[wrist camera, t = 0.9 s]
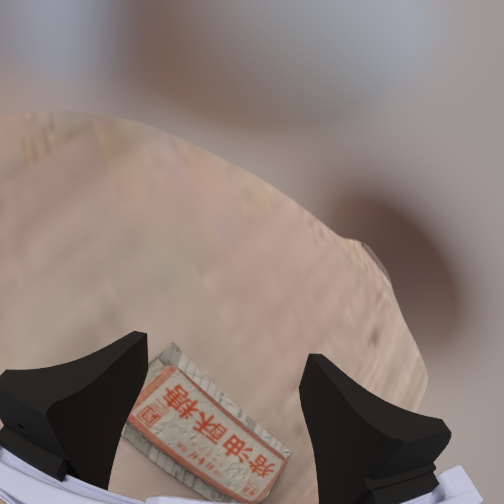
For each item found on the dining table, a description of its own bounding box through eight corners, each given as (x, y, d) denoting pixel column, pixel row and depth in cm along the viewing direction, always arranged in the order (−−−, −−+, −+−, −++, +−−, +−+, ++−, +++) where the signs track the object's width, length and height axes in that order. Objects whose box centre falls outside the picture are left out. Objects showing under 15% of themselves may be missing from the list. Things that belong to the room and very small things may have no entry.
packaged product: (91, 420, 15) (180, 340, 20) (97, 407, 19) (170, 341, 24) (249, 529, 16) (314, 461, 21) (230, 508, 20) (288, 449, 25)
